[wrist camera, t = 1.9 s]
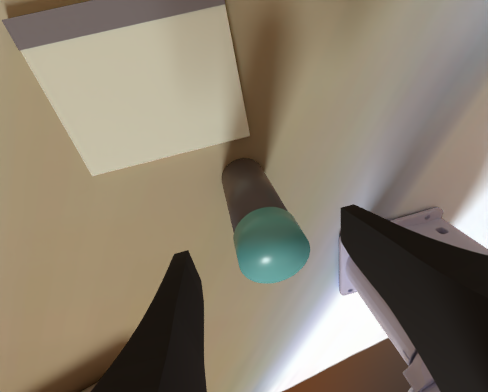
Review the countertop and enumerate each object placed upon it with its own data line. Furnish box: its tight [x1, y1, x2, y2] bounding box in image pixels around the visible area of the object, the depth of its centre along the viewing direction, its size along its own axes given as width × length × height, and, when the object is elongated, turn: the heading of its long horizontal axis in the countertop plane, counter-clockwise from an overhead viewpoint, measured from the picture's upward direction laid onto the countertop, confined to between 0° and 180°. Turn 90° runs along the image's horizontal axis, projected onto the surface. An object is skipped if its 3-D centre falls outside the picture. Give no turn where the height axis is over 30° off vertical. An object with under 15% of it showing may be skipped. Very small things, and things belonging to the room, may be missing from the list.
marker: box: [222, 158, 310, 283], centre depth 15 cm, size 3×3×8 cm
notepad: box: [2, 0, 250, 176], centre depth 14 cm, size 10×8×1 cm
